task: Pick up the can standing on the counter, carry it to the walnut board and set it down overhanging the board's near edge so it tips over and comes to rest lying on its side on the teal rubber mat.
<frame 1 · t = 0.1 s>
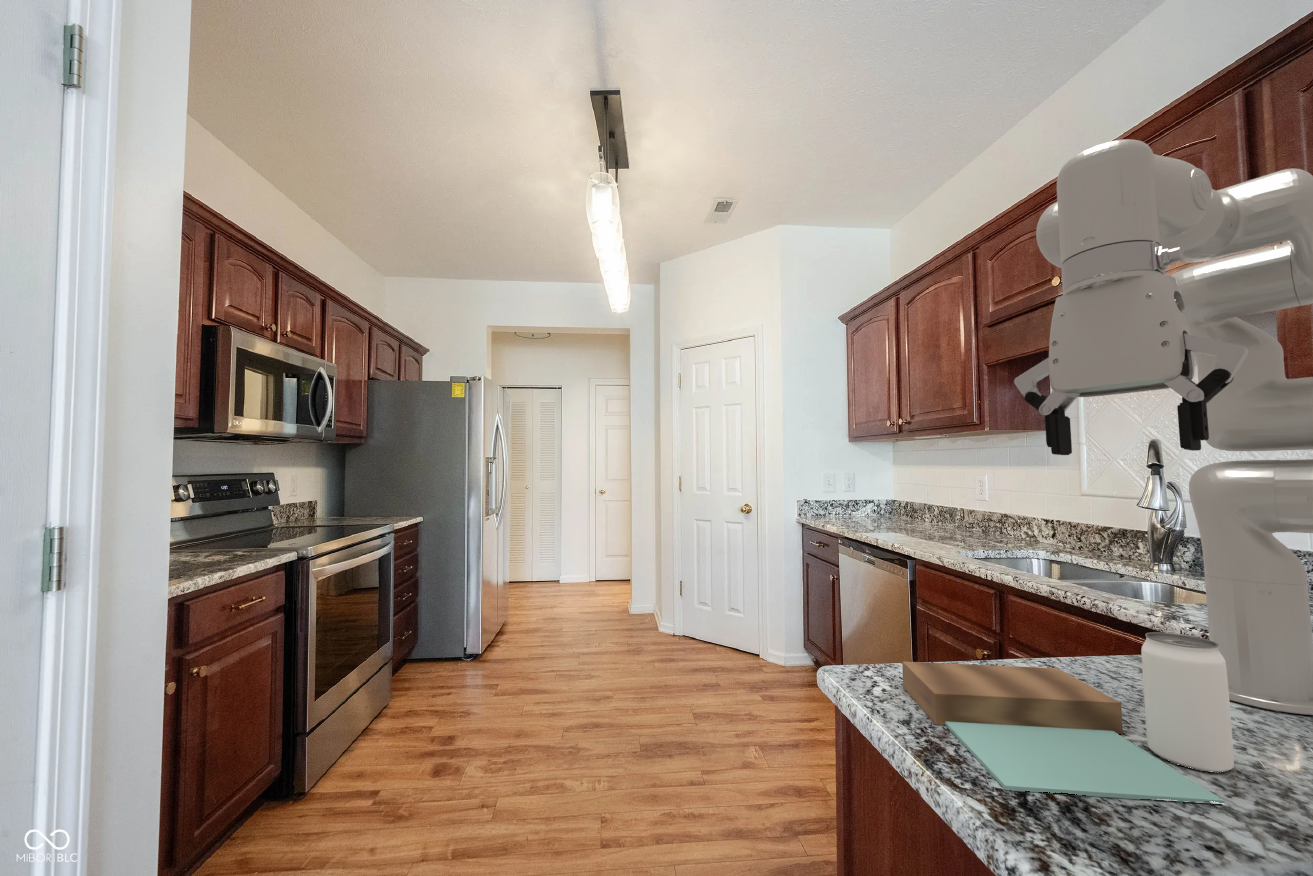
hand: (1121, 452, 52), 31 cm above the worktop, tool pointing down, fingers open, 9 cm apart
board: (1001, 708, 69), on the worktop
mat: (1064, 759, 56), on the worktop
can: (1189, 760, 57), on the worktop
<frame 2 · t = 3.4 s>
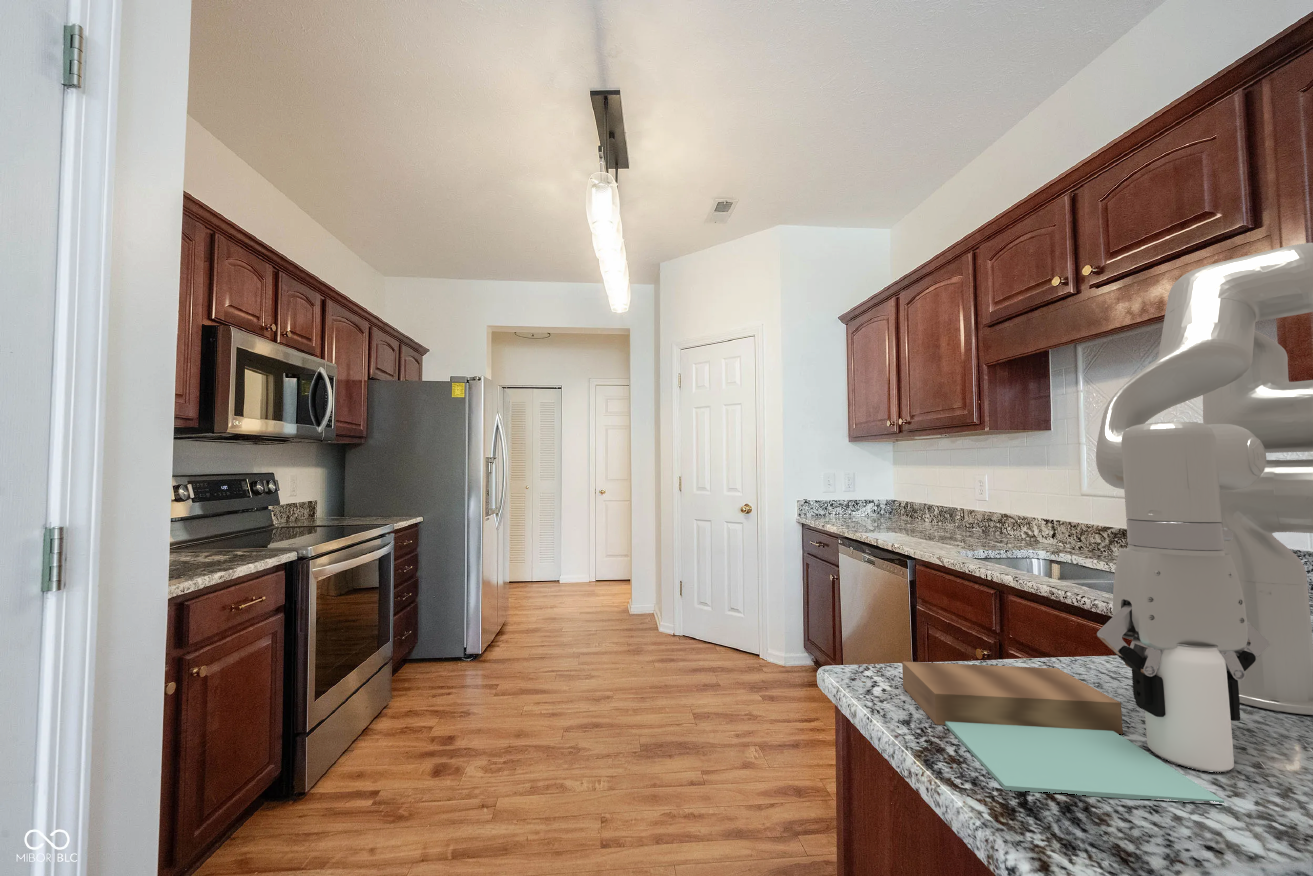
hand: (1186, 712, 57), 5 cm above the worktop, tool pointing down, fingers closed on can, 6 cm apart
can: (1189, 760, 57), on the worktop, touching gripper
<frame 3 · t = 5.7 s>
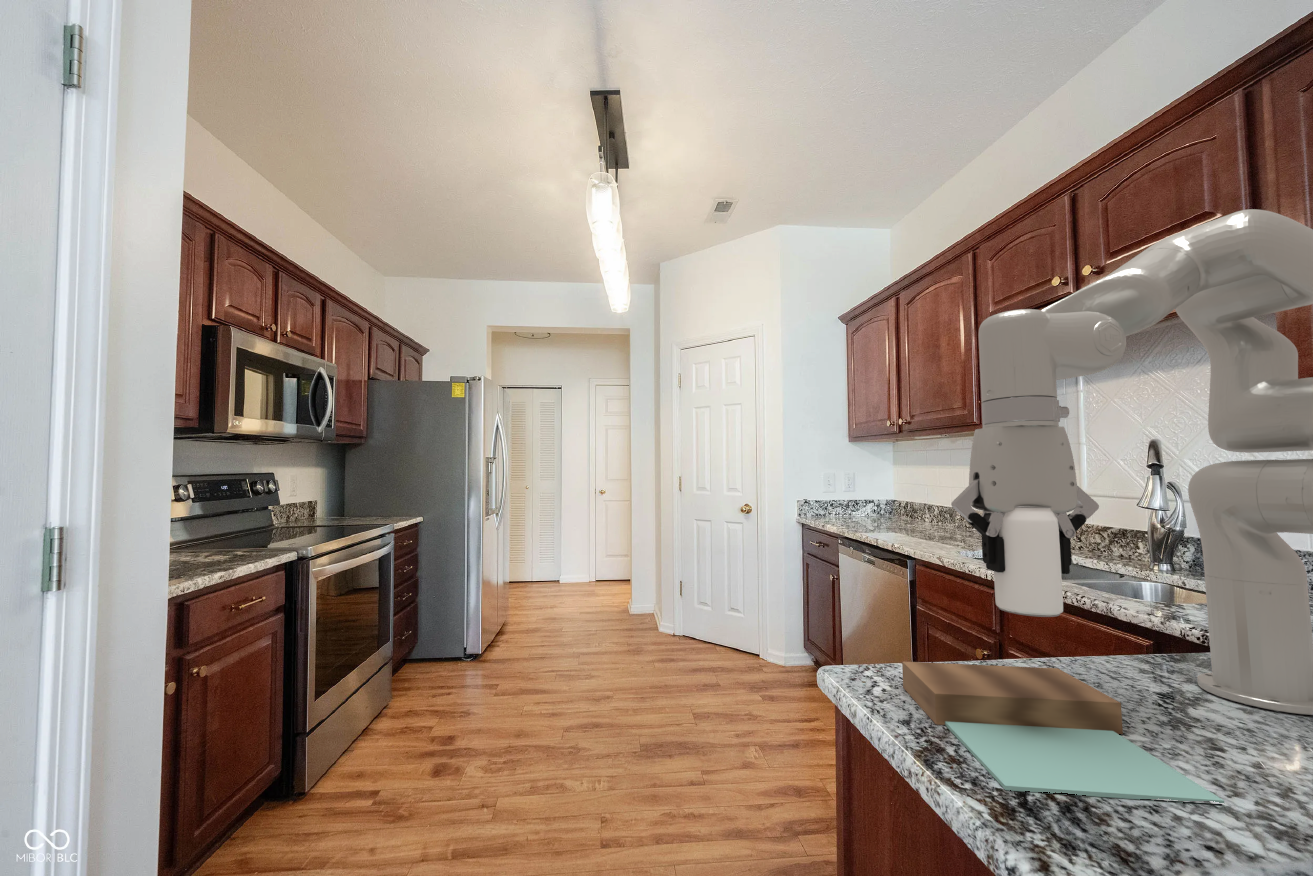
hand: (1026, 570, 64), 18 cm above the worktop, tool pointing down, fingers closed on can, 6 cm apart
can: (1028, 612, 63), point 13 cm above the worktop, touching gripper
when the fingers open (9 cm above the worktop, at t = 7.9 s): can moves 5 cm, resting on mat.
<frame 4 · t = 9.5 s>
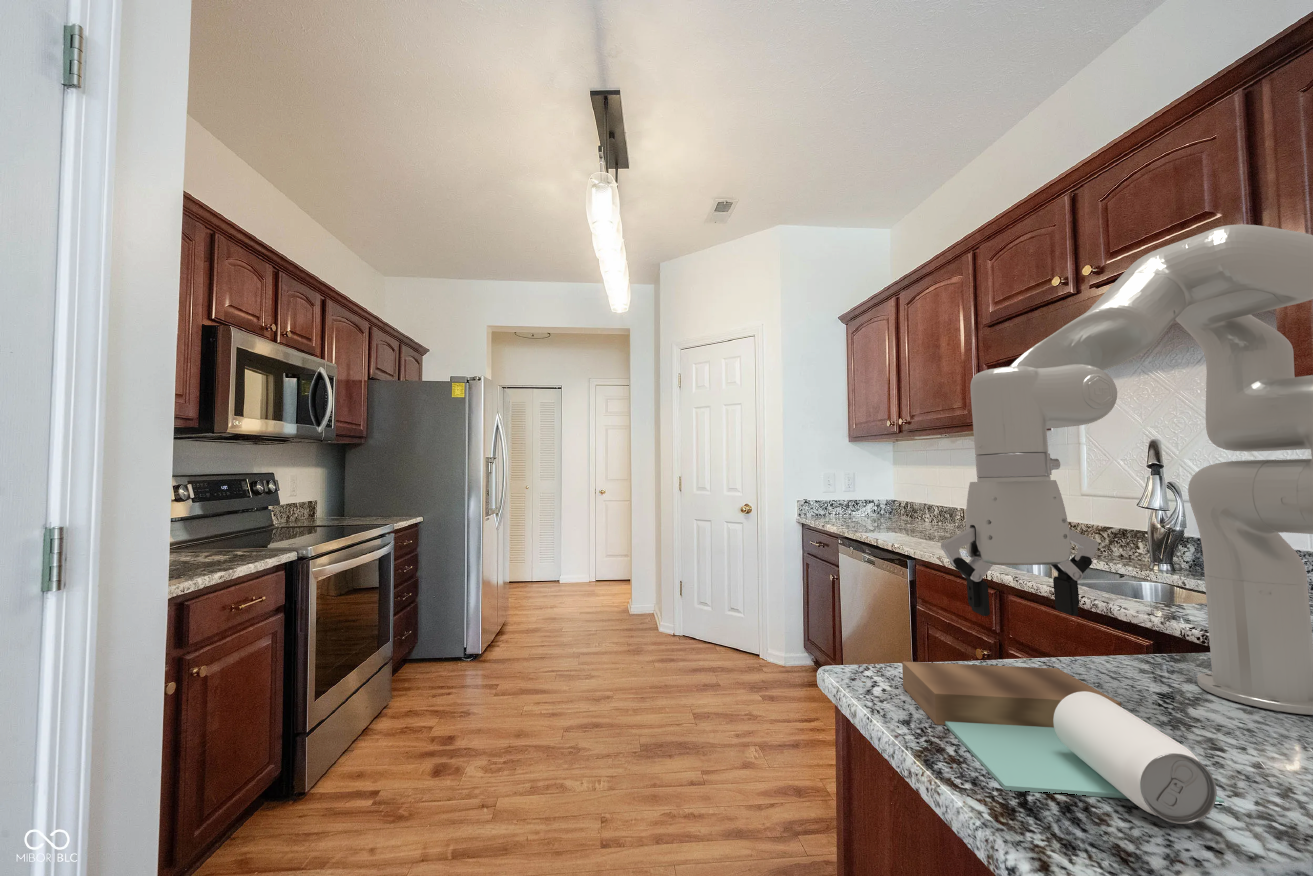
hand: (1023, 613, 66), 13 cm above the worktop, tool pointing down, fingers open, 9 cm apart
can: (1083, 720, 57), point 4 cm above the worktop, touching mat
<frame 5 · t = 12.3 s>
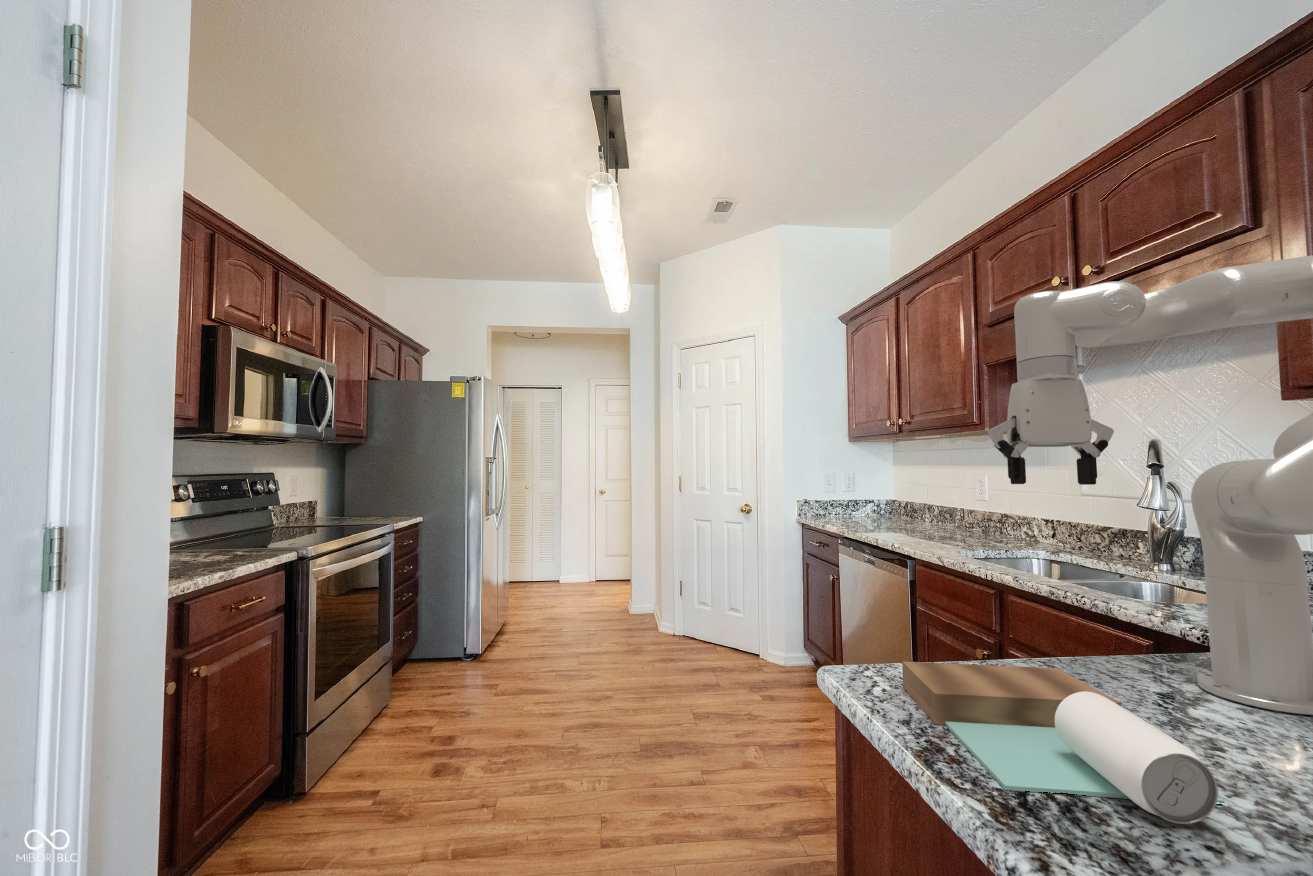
hand: (1052, 484, 84), 28 cm above the worktop, tool pointing down, fingers open, 9 cm apart
nothing on the worktop moved.
at the end: can tilted 92°; can inside the target area (3.7 cm from its centre), point 3.6 cm above the worktop; the gripper is holding nothing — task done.
